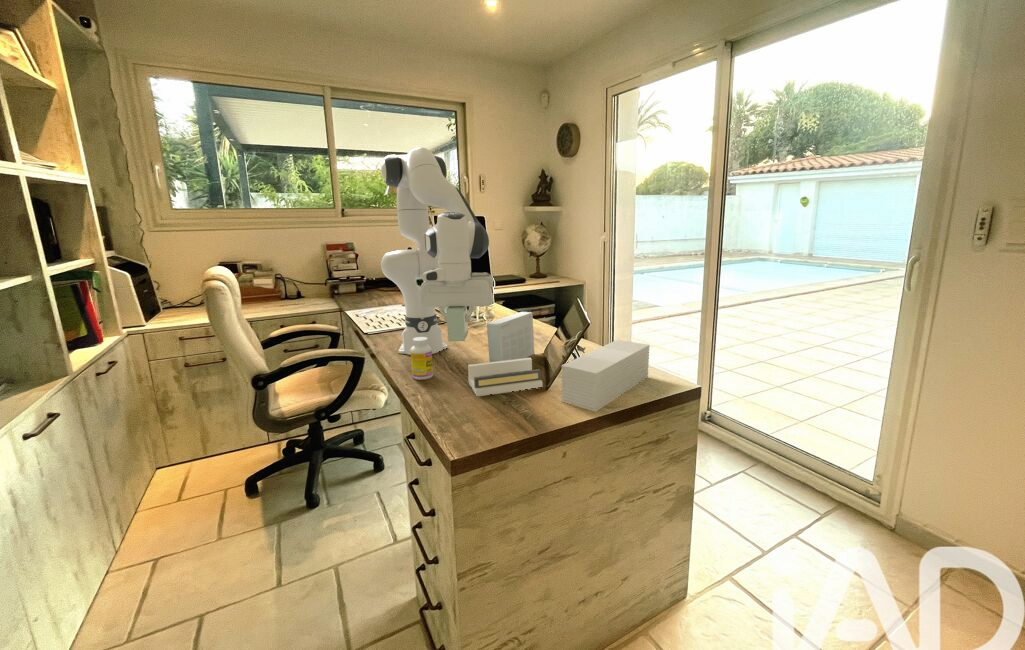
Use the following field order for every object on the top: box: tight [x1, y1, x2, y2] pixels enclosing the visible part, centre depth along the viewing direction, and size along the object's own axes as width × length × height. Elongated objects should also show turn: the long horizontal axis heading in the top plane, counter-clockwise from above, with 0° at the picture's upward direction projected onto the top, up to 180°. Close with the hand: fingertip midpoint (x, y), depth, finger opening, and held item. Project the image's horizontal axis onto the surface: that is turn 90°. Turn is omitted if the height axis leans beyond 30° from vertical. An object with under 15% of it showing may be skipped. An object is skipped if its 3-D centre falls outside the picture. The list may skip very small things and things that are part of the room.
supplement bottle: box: [410, 337, 434, 381], centre depth 141 cm, size 7×7×13 cm
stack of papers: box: [560, 339, 650, 412], centre depth 128 cm, size 32×11×11 cm, turn 139°
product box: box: [445, 306, 469, 342], centre depth 124 cm, size 8×5×9 cm, turn 179°
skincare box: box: [486, 311, 535, 362], centre depth 155 cm, size 21×5×16 cm, turn 144°
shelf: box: [467, 357, 543, 397], centre depth 133 cm, size 12×20×6 cm, turn 107°
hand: (457, 321), depth 124 cm, fingers closed on product box, 5 cm apart
